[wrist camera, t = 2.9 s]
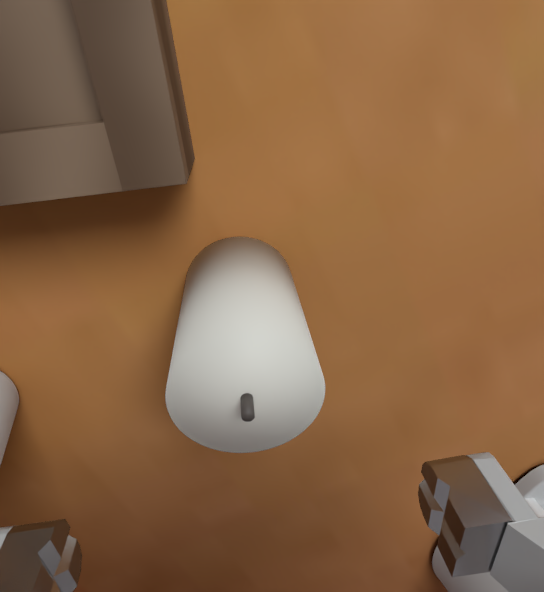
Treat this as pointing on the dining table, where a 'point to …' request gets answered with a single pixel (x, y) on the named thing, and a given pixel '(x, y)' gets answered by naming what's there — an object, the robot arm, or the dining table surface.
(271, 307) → the white wax pillar
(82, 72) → the holder
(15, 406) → the soft serve ice cream cone
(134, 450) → the dining table surface
